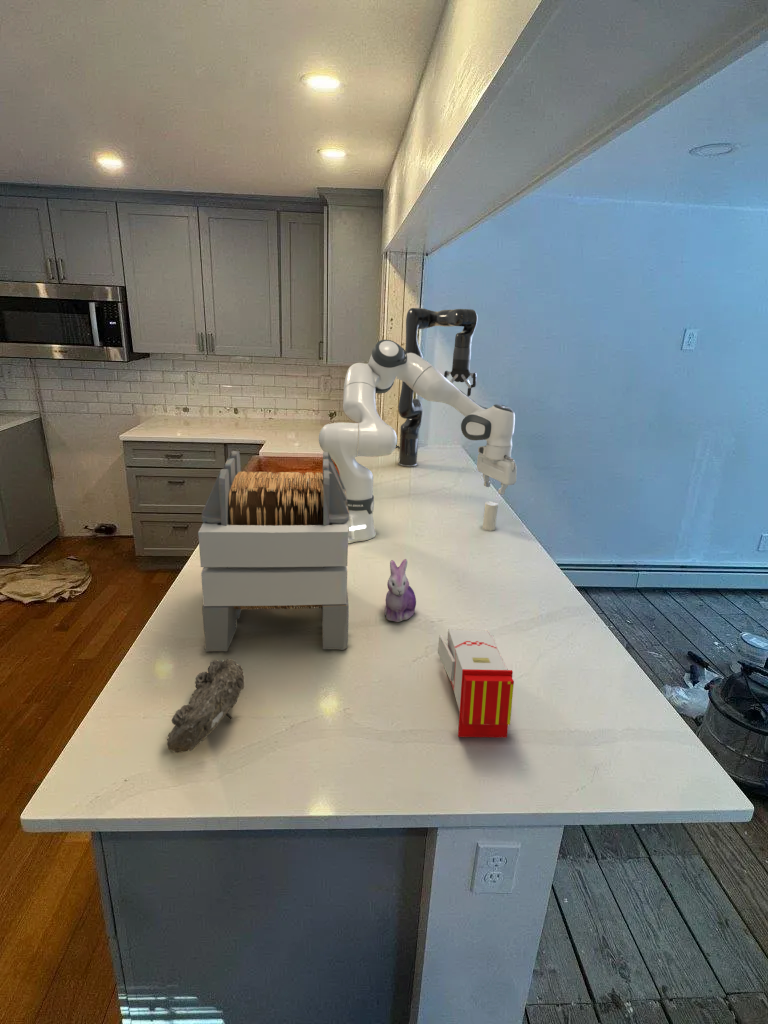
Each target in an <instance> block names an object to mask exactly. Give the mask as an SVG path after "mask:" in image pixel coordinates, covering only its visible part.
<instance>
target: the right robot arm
mask: <svg viewBox="0 0 768 1024" xmlns="http://www.w3.org/2000/svg"><path fill="white" fill-rule="evenodd" d="M405 317H406V318H405V348H404V350H405V351H406V353H414V354H416V355H418V356H420V357H421V358H423V359H424V360H425V358H424V355H423V351H422V350H421V347H420V345H419V341H418V330H426V329H430V328H432V327H444V328H445V327H446V328H447V327H448V328H450V327H463V328H462V330H461V331H460V332H457V333H456V334H455V338H454V347H453V348H454V349H453V353H452V366H451V371H449V370H445V371H444V372H443V376H444V377H445V378H446V379H447V380H448V377H449V376H451V379H450V380H449V381H450V382H451V383H452V384H453V383H454V382H455V383H465V384H466V387H468V388H467V393H466V395H467V396H468V397H470V396H472V389H473V388H476V387H477V372H471V371H470V369H471V358H472V341H473V337H474V334H475V330H476V328H477V324H478V317H479V316H478V314H477V311H476V310H474V309H471V308H454V309H442V310H438V311H436V310H432V309H427V308H423V307H410V308H409V309H408V311H407V313H406V316H405ZM470 377H471V379H472V384H471V382H470V380H469V378H470ZM401 381H402V380H401ZM400 389H401V390H400V395H399V401H398V414H399V417H400V418H401V419H405V421H404V422H403V423H402V424H401V425H400V430H399V431H400V433H399V445H398V446H396V448H398V449H399V450H398V451H399V452H398V453H399V454H398V459H397V461H398V463H397V464H398V465H399V466H401V467H407V468H410V467H413V468H414V467H417V466H418V451H419V437H420V435H419V434H420V428H421V426H422V420H423V419H422V418H423V404H422V402H421V400H420V399H418V398H414V393H415V392H414V391H413V390H412V389H411V388H410V387H409V386H408V385H407V384H406V383H405V382H404V381H402V382H401V388H400Z"/></svg>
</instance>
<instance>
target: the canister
mask: <svg viewBox="0 0 768 1024" xmlns="http://www.w3.org/2000/svg"><path fill="white" fill-rule="evenodd" d="M498 508H499V503H498V502H496V501H485V502H484V512H483V518H482V519H483V520H482V530H484V531H489V532H493V531H495V530H496V525H497V518H498Z"/></svg>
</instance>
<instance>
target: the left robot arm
mask: <svg viewBox="0 0 768 1024" xmlns="http://www.w3.org/2000/svg"><path fill="white" fill-rule="evenodd" d="M423 358H424V357H423ZM423 358H421V357H420V356H418V355H416V354H414V353H406V351H405V348H404V347H402V346H401V345H400V344H399V343H397V342H395V341H394V340H391V339H381V340H379V341H378V342H376V344H375V345H374V346H373V348H372V350H371V355H370V358H369V360H368V362H367V363H364V362H356V363H353V364H351V365H350V366H349V367H348V369H347V371H346V374H345V378H344V382H343V383H344V384H343V396H342V410H343V413H344V414H345V416H346V417H347V418H348V419H349V420H351V421H352V422H343V421H341V422H340V421H339V422H338V421H337V422H333V423H332V422H331V423H326V424H324V425H323V426H322V427H321V429H320V431H319V433H318V444H319V447H320V449H321V450H322V452H329V455H330V457H331V459H332V461H333V463H334V465H336V467H337V468H336V469H337V471H338V474H339V476H340V478H341V480H342V483H343V485H344V487H345V489H346V496H347V501H348V509H349V520H348V521H347V526H348V544H352V543H357V542H365V541H368V540H372V539H373V538H375V537H376V535H377V532H376V528H375V523H374V513H373V512H374V509H375V496H374V474H373V472H372V471H371V469H369V468H368V467H366V466H364V465H362V464H361V463H359V462H358V461H357V460H356V458H357V457H367V458H379V457H386V456H390V455H392V454H393V453H394V452H395V450H396V448H397V447H396V445H398V435H397V432H396V431H395V429H394V428H393V427H392V426H391V425H389V424H388V423H387V422H385V421H384V420H383V419H382V417H381V416H380V415H379V413H378V410H377V403H376V400H377V399H376V394H380V395H381V394H386V393H388V392H389V391H390V390H391V389H392V387H393V386H394V383H395V380H400V381H404V382H405V383H406V384H407V385H408V386H409V387H410V388H411V389H412V390H413V391H414V393H415V394H416V395H418V396H419V397H421V398H422V399H424V400H425V401H427V402H433V403H434V402H435V403H442V404H445V405H448V406H451V408H453V409H455V410H456V411H457V412H459V413H460V414H461V415H462V416H464V417H463V419H462V421H461V423H460V431H461V433H462V435H463V436H464V437H465V438H466V439H467V440H470V441H486V445H481V446H478V448H477V453H478V455H477V459H476V470H477V472H479V473H481V474H482V479H483V486H484V487H486V488H490V487H491V483H492V482H491V481H490V478H492V479H493V480H496V481H497V482H499V483H500V486H501V487H500V488H498V495H501V496H504V495H505V494H506V490H507V489H508V487H509V486H514V485H515V484H516V483H517V476H518V475H517V474H518V472H517V471H518V470H517V468H518V467H517V464H516V461H515V458H513V457H512V450H513V437H514V433H515V426H516V425H515V424H516V414H515V410H514V409H513V408H511V407H510V406H508V405H504V404H493V405H491V406H490V407H484V406H483V405H480V404H479V403H478V402H476V401H475V400H474V399H472V398H471V397H470V396H469V397H468V396H467V393H465V392H463V391H462V390H461V389H459V388H458V387H456V385H454V384H453V383H451V382H450V381H451V380H449V379H448V378H447V379H446V378H445V377H444V374H442V373H441V372H440V370H438V369H437V368H436V367H435V366H434V365H432V364H431V363H430V362H428V360H426V359H425V358H424V359H423Z"/></svg>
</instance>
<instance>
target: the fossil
mask: <svg viewBox="0 0 768 1024" xmlns="http://www.w3.org/2000/svg"><path fill="white" fill-rule="evenodd" d="M243 670H244V669H243V667H242V665H240V664H237V662H236V661H235V660H234V659H232V658H231V659H227V658H226V659H224V660H223V661H222V660H217V659H212V660H211V661H210V663H209V665H208V666H207V671H201V672H199V673H198V674H197V675H196V676H195V680H194V684H195V685H194V687H195V689H194V690H193V693H192V694H191V697H190V698H189V700H188V704H184V705H182V706H181V707H180V709H177V710H176V711H175V713H174V715H173V716H172V718H171V723H172V724H173V727H172V730H171V731H170V732H168V734H167V738H166V741H167V742H166V745H167V749H168V750H169V751H173V752H174V753H176V754H178V753H182V752H188V751H189V752H192V751H193V750H195V748H196V747H197V746H199V744H200V743H201V742H203V741H204V740H205V739H206V738H207V737H208V736H209V735H210V734H211V733H212V732H214V730H215V729H217V727H218V726H219V724H220V722H221V721H222V720H223V719H224V718H225V716H226V717H227V719H229V720H233V717H232V715H230V714H229V710H230V709H231V708H234V706H235V704H236V703H237V702H238V699H239V697H240V695H241V693H242V691H243V690H245V689H244V688H245V675H244V671H243Z"/></svg>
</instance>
